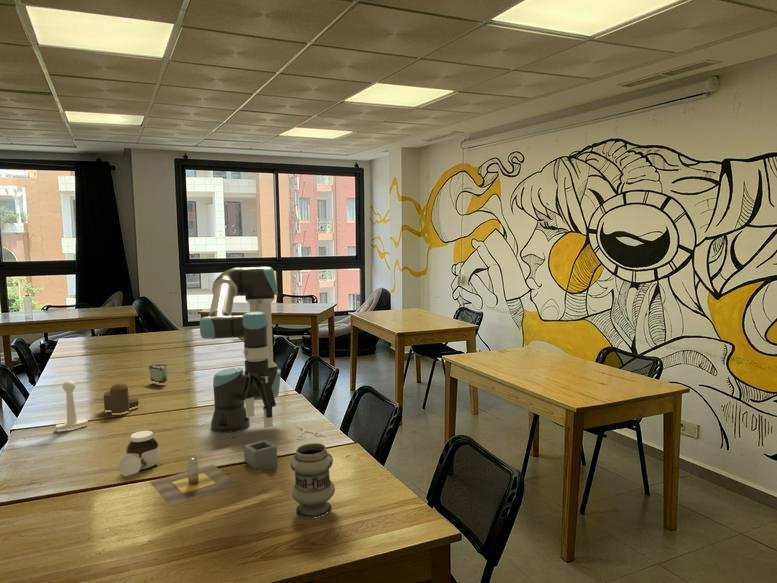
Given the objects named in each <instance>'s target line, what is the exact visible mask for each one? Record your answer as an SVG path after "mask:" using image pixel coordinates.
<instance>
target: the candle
mask: <svg viewBox="0 0 777 583" xmlns="http://www.w3.org/2000/svg"><path fill="white" fill-rule="evenodd" d="M138 404H139V405H140V402H139V398H129V386H128V385H127V384H126V383H121V382H120V380H118V382H117V383H115V384H113V385H112V386H111V387H110V389H109V390H108V391H105V392H104V394H103V406H104V411H105V410H111V411H112V413H122V412H125V411H129V408H132V407H135V406H138ZM129 412H130V411H129ZM112 413H111V414H112Z"/></svg>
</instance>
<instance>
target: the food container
mask: <svg viewBox="0 0 777 583" xmlns="http://www.w3.org/2000/svg"><path fill="white" fill-rule="evenodd" d="M148 370H149V376H150V382H151V381H155V382H159V383H165V382H166V381H167V382H168V370H169V367H168V365H167V364H164V363H158V364H157V363H156V364H150V365H148Z"/></svg>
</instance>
